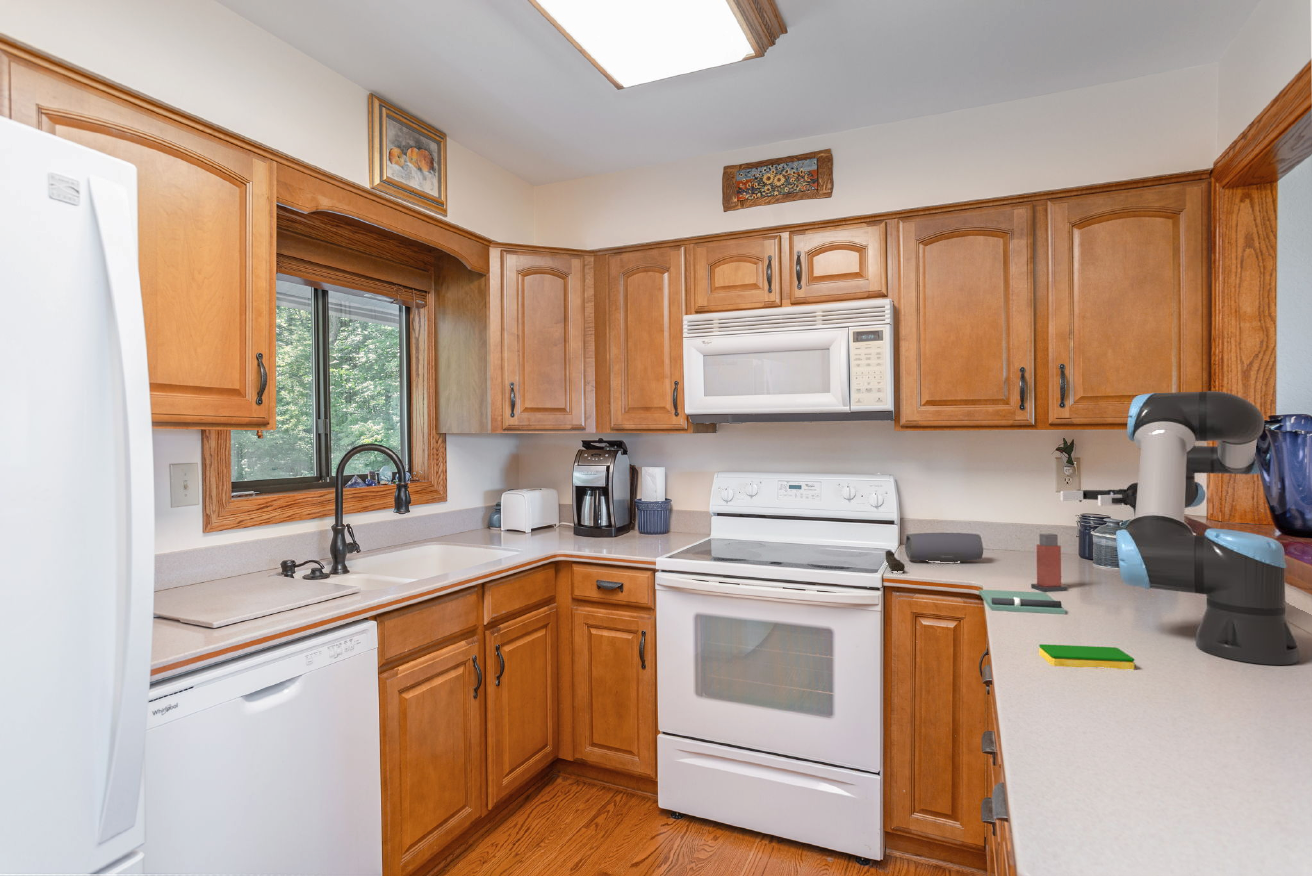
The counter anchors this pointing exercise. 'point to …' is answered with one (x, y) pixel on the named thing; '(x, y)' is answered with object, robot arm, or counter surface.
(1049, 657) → the dish sponge
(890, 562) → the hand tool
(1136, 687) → the counter surface
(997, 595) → the cutting mat
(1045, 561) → the grey-capped red pillar
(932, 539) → the bluetooth speaker
